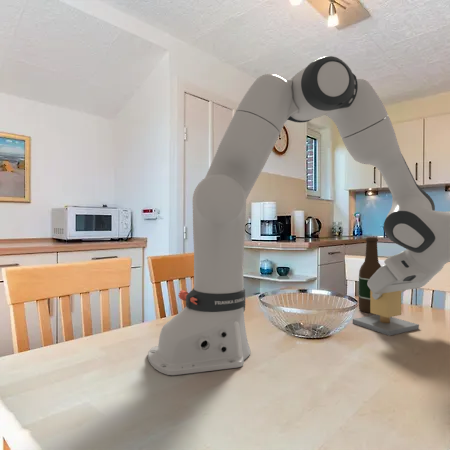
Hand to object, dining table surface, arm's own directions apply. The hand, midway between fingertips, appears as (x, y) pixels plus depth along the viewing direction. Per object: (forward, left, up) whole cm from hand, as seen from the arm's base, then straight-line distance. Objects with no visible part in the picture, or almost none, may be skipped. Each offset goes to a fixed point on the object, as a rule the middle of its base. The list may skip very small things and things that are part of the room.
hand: (383, 296), depth 98 cm
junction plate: (0, -1, -8) cm, 8 cm away
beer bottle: (+10, +12, -9) cm, 18 cm away
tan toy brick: (0, -1, -5) cm, 5 cm away
